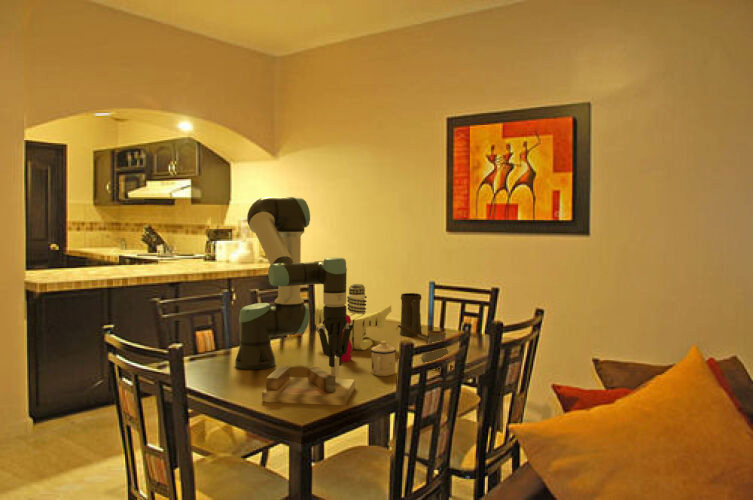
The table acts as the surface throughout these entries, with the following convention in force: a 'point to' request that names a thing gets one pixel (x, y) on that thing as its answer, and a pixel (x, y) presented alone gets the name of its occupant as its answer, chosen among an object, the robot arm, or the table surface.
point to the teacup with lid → (383, 359)
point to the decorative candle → (357, 300)
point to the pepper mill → (347, 356)
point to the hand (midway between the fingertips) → (335, 376)
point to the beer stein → (410, 313)
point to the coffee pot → (433, 337)
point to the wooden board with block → (304, 390)
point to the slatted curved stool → (359, 325)
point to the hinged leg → (322, 379)
